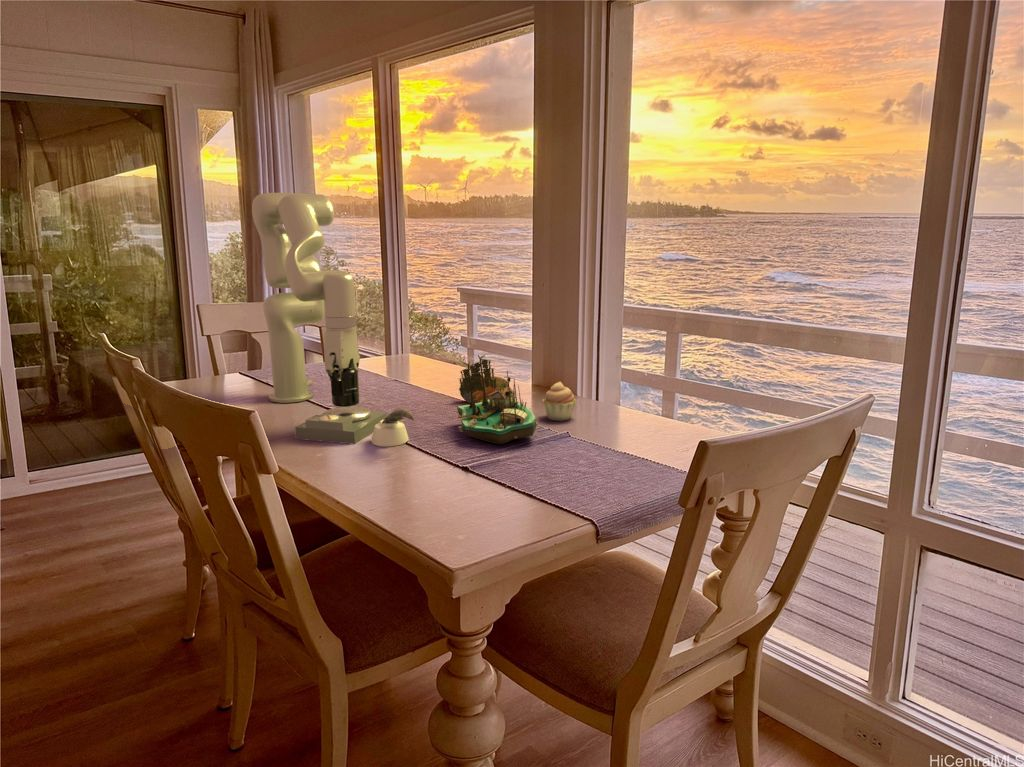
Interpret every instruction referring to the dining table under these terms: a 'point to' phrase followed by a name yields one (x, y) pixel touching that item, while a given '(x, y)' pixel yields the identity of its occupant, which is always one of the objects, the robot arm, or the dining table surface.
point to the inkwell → (391, 429)
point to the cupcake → (559, 402)
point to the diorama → (493, 408)
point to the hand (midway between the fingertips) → (345, 391)
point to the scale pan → (350, 412)
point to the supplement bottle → (348, 387)
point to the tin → (479, 394)
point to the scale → (338, 428)
